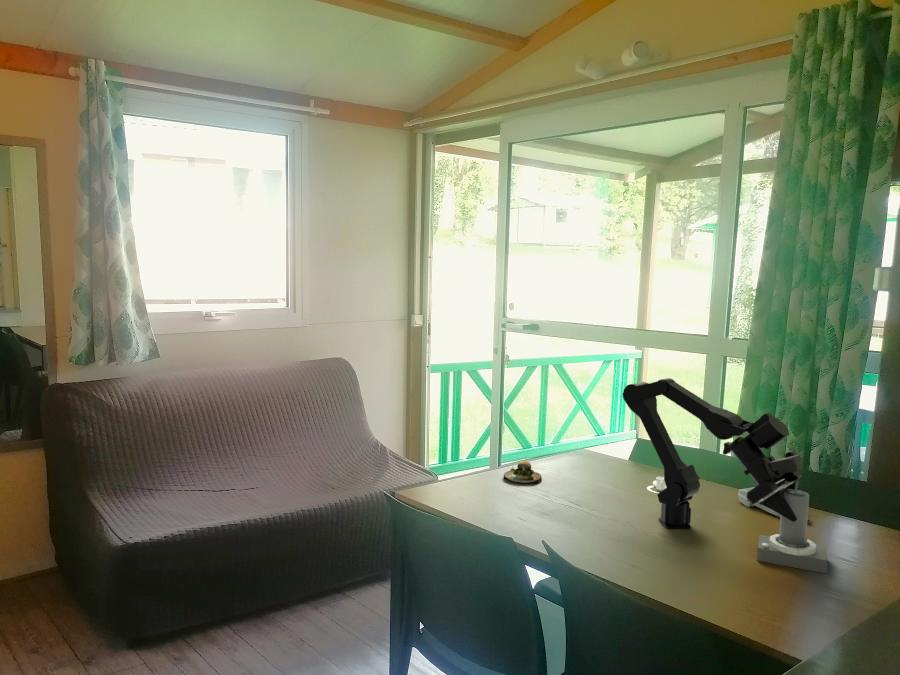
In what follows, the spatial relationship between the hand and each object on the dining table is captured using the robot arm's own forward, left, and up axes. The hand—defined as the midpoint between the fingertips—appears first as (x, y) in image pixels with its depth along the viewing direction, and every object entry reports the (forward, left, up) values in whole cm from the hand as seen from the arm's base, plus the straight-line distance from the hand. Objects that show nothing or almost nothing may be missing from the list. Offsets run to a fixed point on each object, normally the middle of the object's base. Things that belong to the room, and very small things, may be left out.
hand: (800, 517), depth 155 cm
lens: (-1, +1, -7) cm, 7 cm away
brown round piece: (-54, +61, -11) cm, 82 cm away
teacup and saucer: (-10, +52, -11) cm, 54 cm away
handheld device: (+12, +33, -11) cm, 37 cm away
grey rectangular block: (-1, +1, -10) cm, 10 cm away
